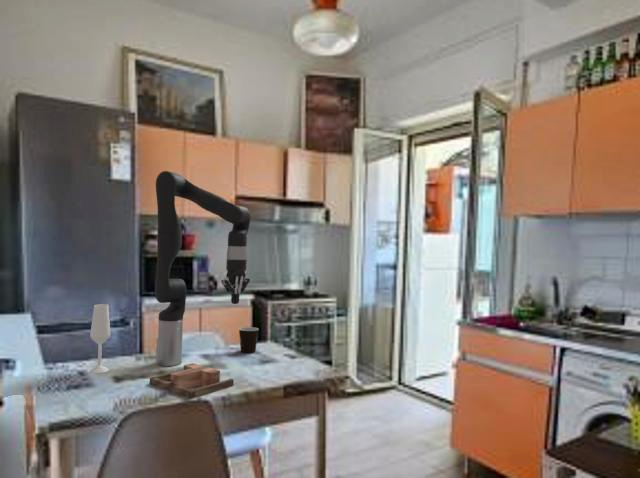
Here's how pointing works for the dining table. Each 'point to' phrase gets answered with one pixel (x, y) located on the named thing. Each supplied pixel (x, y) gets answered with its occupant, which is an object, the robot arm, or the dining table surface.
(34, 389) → the dining table surface
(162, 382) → the frame
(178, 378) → the t block
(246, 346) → the coffee mug
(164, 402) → the dining table surface
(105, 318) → the champagne flute
